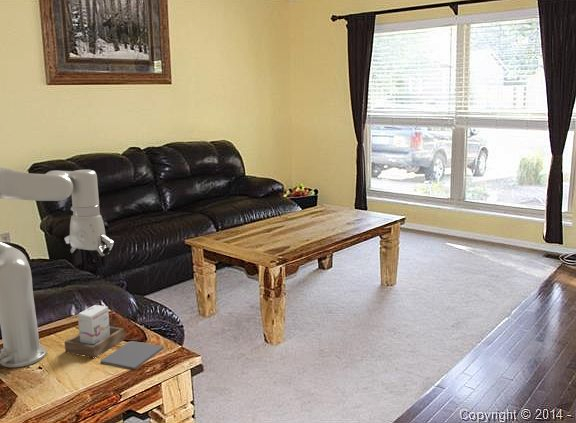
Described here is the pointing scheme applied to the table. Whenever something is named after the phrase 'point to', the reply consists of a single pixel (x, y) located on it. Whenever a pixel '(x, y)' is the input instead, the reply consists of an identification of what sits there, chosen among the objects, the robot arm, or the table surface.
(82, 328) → the ink box
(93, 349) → the frame
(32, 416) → the table surface
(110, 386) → the table surface
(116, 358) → the rubber mat
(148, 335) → the table surface
